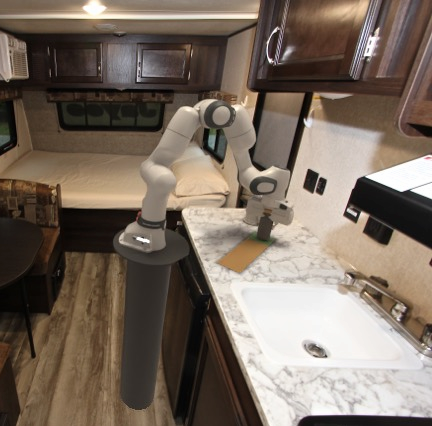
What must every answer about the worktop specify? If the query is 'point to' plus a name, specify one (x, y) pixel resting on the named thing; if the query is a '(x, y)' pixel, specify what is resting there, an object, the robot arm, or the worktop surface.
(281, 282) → the worktop surface
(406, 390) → the worktop surface
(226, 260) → the plate
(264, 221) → the bottle
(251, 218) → the cup
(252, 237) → the pad
